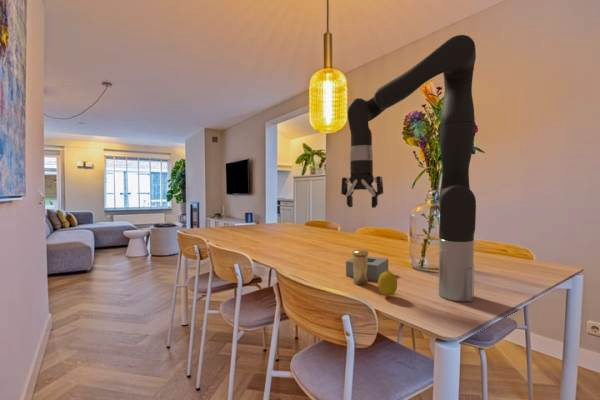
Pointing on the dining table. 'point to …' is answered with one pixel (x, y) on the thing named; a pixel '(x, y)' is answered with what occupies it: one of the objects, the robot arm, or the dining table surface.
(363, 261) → the glass jar
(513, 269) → the dining table surface
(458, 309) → the dining table surface
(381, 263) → the block
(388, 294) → the lemon
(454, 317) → the dining table surface
